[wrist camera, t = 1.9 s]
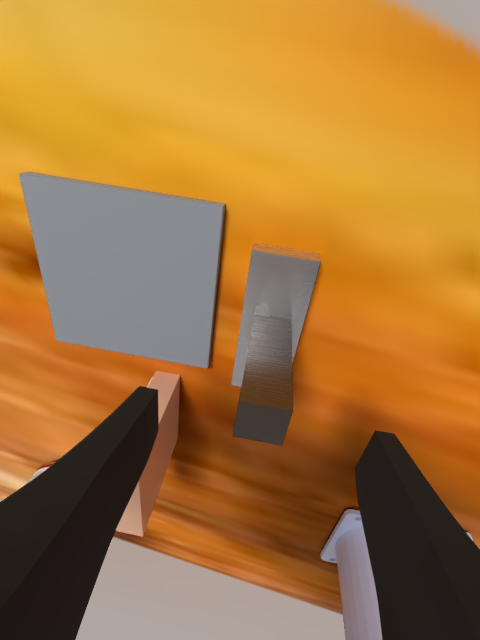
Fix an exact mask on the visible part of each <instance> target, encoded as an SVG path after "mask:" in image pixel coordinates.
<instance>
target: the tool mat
mask: <svg viewBox="0 0 480 640" xmlns="http://www.w3.org/2000/svg"><path fill="white" fill-rule="evenodd" d="M19 176H20V180H21V185H22V189H23V194H24V198H25V203H26V207H27V212H28V216H29V221H30V225H31V230H32V234H33V239H34V243H35V248H36V252H37V256H38V261H39V265H40V270H41V274H42V279H43V283H44V288H45V292H46V297H47V301H48V306H49V310H50V315H51V319H52V324H53V328H54V333H55V337H56V341H61V342H66V343H72V344H77V345H83V346H88V347H93V348H99V349H104V350H110V351H115V352H120V353H126V354H131V355H137V356H142V357H147V358H153V359H158V360H164V361H169V362H174V363H180V364H185V365H191V366H196V367H201V368H207V369H208V366H209V363H210V354H211V344H212V334H213V324H214V314H215V304H216V293H217V283H218V273H219V263H220V253H221V243H222V233H223V223H224V213H225V204H223V203H217V202H211V201H204V200H198V199H192V198H186V197H180V196H174V195H167V194H161V193H155V192H149V191H143V190H137V189H131V188H124V187H118V186H112V185H106V184H100V183H94V182H88V181H81V180H75V179H69V178H63V177H57V176H51V175H45V174H38V173H32V172H25V173H20V174H19Z"/></svg>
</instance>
